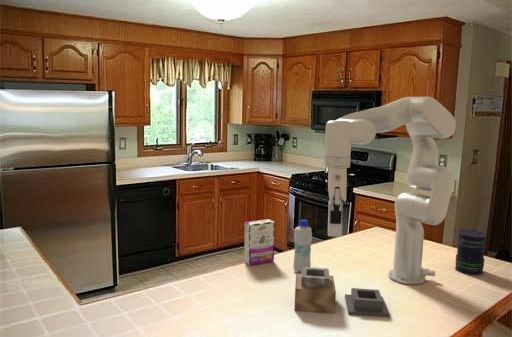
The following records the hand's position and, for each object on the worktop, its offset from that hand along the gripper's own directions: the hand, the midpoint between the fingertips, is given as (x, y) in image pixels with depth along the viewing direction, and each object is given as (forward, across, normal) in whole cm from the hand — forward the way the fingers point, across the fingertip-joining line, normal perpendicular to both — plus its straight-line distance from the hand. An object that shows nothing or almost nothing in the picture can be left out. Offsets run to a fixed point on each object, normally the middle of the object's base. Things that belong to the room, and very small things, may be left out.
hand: (335, 220), depth 132 cm
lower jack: (+27, 0, -10) cm, 29 cm away
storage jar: (+28, +39, -54) cm, 72 cm away
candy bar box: (+27, +33, +27) cm, 51 cm away
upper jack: (+27, 0, +6) cm, 27 cm away
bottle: (+27, +25, +10) cm, 38 cm away
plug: (+4, 0, 0) cm, 4 cm away
